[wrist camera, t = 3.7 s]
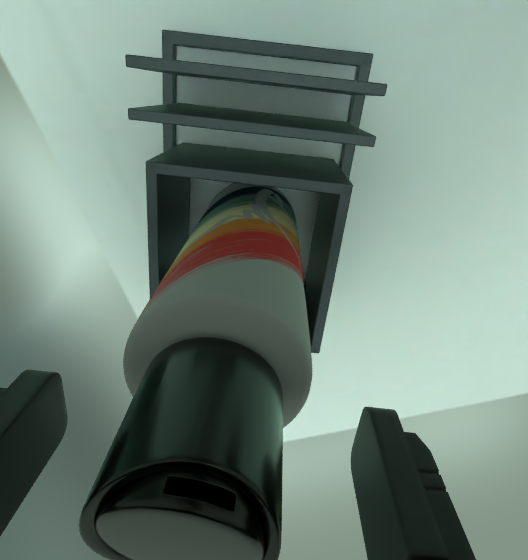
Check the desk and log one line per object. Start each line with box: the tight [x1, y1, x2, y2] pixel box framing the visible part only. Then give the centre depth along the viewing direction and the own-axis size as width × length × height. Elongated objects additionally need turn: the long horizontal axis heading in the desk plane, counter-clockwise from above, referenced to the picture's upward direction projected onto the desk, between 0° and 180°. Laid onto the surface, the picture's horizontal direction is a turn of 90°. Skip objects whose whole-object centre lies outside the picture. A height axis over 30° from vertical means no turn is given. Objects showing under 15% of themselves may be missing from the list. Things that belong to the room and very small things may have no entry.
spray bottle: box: [79, 183, 312, 560], centre depth 16 cm, size 6×6×20 cm
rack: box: [126, 30, 387, 353], centre depth 20 cm, size 14×11×8 cm
